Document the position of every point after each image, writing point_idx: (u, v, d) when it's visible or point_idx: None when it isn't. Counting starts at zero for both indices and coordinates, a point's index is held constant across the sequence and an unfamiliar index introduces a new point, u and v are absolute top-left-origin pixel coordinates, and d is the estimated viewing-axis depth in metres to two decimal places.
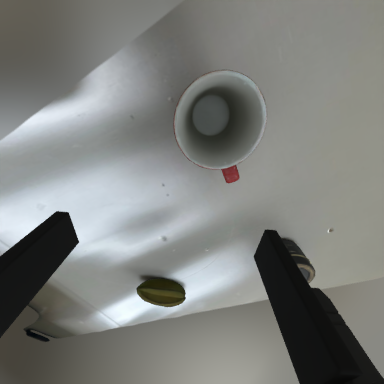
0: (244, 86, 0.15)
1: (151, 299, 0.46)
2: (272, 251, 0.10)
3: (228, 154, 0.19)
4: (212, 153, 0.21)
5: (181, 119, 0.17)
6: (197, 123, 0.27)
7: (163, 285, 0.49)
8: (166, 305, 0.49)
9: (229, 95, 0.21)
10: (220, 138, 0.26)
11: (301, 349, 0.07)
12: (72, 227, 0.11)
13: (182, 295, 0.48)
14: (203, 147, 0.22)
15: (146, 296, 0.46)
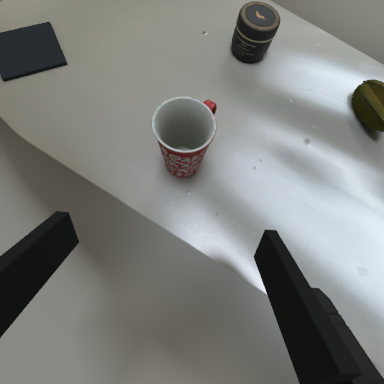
0: (156, 125, 0.23)
1: None
2: (272, 251, 0.10)
3: (197, 114, 0.25)
4: (203, 127, 0.27)
5: None
6: None
7: (366, 111, 0.40)
8: None
9: None
10: (192, 141, 0.33)
11: (301, 349, 0.07)
12: (72, 227, 0.11)
13: (362, 85, 0.40)
14: (203, 139, 0.28)
15: None
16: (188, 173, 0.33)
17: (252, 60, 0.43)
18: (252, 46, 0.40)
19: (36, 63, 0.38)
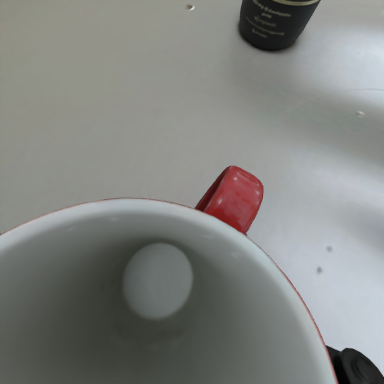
0: None
1: None
2: None
3: (198, 247, 0.06)
4: (222, 277, 0.07)
5: None
6: (182, 291, 0.14)
7: None
8: None
9: (94, 300, 0.10)
10: (178, 245, 0.13)
11: None
12: None
13: None
14: (219, 291, 0.08)
15: None
16: None
17: (280, 45, 0.24)
18: (284, 15, 0.20)
19: None
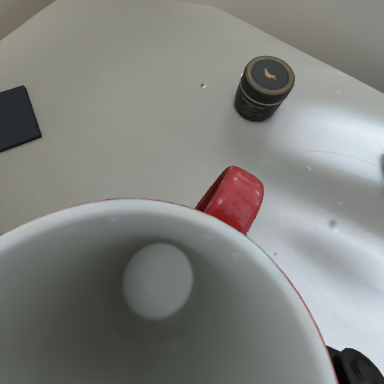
0: None
1: None
2: None
3: (198, 247, 0.06)
4: (222, 277, 0.07)
5: None
6: (182, 291, 0.14)
7: None
8: None
9: (94, 300, 0.10)
10: (179, 246, 0.13)
11: None
12: None
13: None
14: (219, 291, 0.08)
15: None
16: None
17: (260, 119, 0.36)
18: (260, 108, 0.33)
19: (5, 139, 0.33)
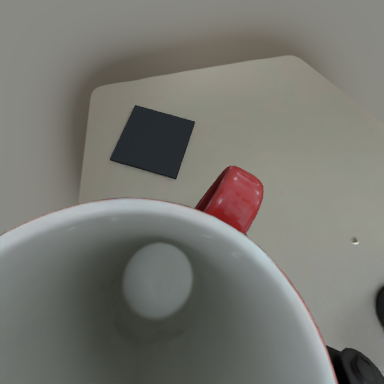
0: None
1: None
2: None
3: (198, 247, 0.06)
4: (222, 277, 0.07)
5: None
6: (182, 291, 0.14)
7: None
8: None
9: (94, 300, 0.10)
10: (178, 245, 0.13)
11: None
12: None
13: None
14: (219, 291, 0.08)
15: None
16: None
17: None
18: None
19: (149, 161, 0.33)
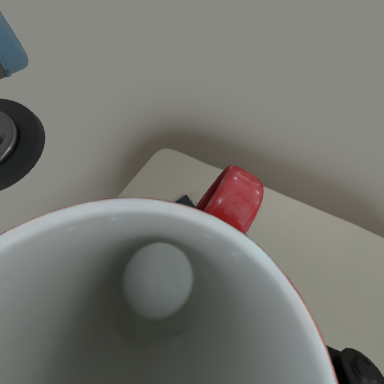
0: None
1: None
2: None
3: (198, 246, 0.06)
4: (222, 277, 0.07)
5: None
6: (182, 291, 0.14)
7: None
8: None
9: (94, 300, 0.10)
10: (178, 245, 0.13)
11: None
12: None
13: None
14: (219, 291, 0.08)
15: None
16: None
17: None
18: None
19: None
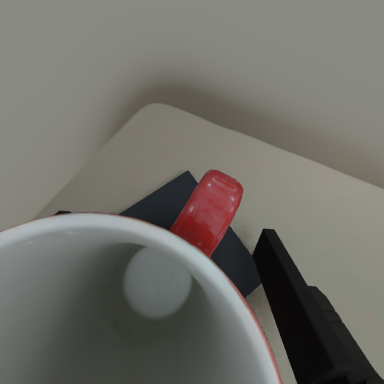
0: None
1: None
2: (270, 250, 0.10)
3: (167, 256, 0.06)
4: None
5: None
6: (181, 292, 0.15)
7: None
8: None
9: (90, 300, 0.10)
10: None
11: (297, 346, 0.07)
12: None
13: None
14: (205, 296, 0.08)
15: None
16: None
17: None
18: None
19: None
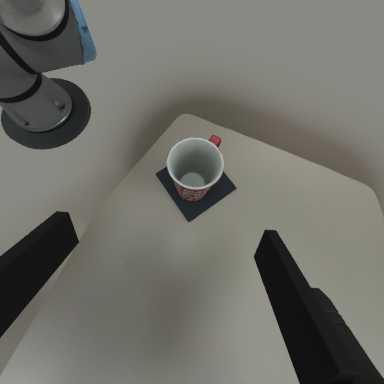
0: (170, 165, 0.26)
1: None
2: (272, 251, 0.10)
3: (205, 150, 0.28)
4: (211, 160, 0.29)
5: (206, 185, 0.26)
6: None
7: None
8: None
9: (176, 178, 0.33)
10: (199, 168, 0.36)
11: (301, 349, 0.07)
12: (72, 227, 0.11)
13: None
14: (211, 169, 0.31)
15: None
16: (198, 198, 0.35)
17: None
18: None
19: None
